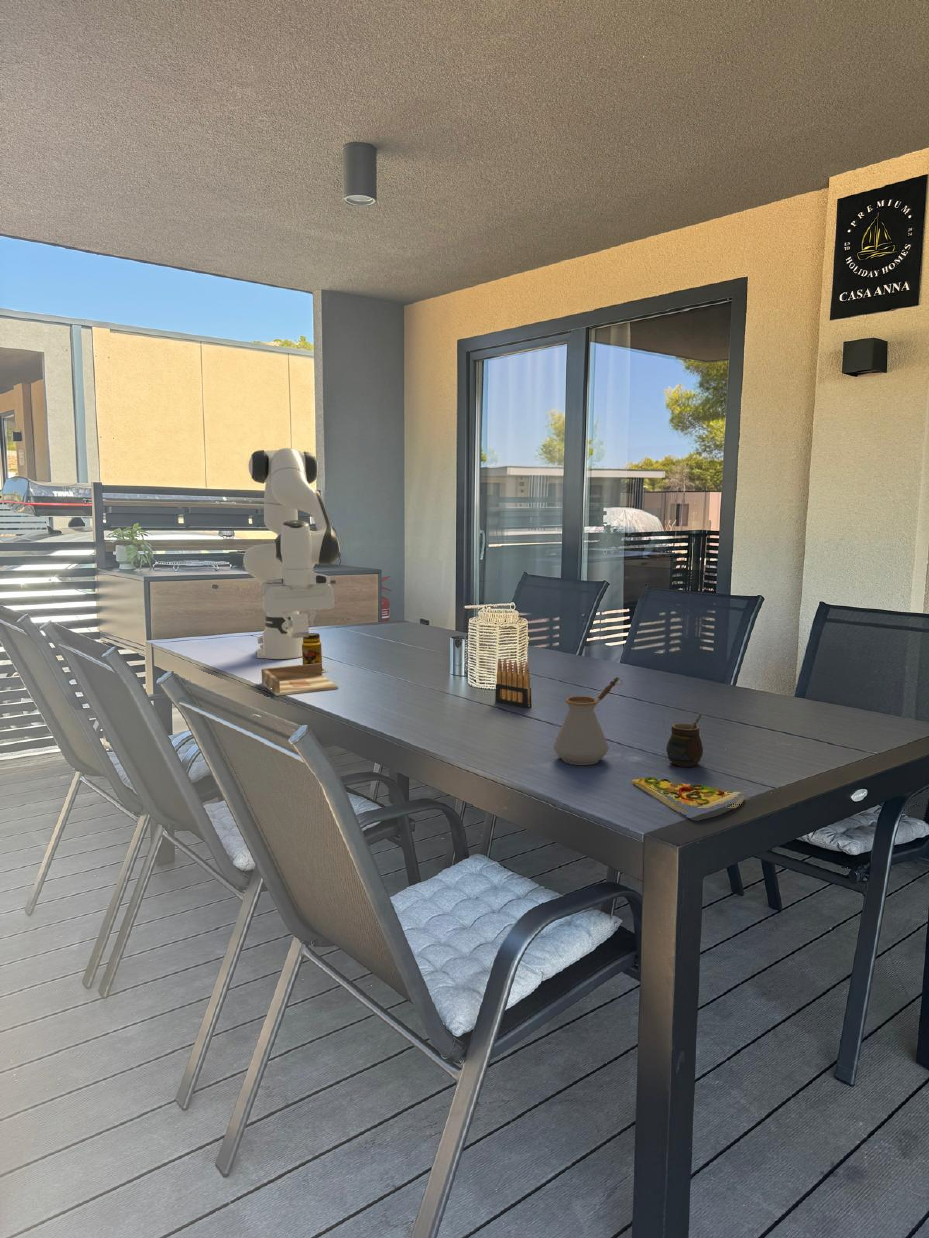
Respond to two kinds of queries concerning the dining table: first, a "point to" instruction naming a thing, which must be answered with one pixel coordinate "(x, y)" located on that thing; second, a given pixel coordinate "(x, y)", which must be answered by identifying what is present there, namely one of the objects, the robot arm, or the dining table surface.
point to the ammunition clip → (513, 685)
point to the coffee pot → (582, 731)
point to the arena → (296, 679)
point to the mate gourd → (685, 744)
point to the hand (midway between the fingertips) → (299, 626)
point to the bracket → (299, 626)
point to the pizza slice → (686, 793)
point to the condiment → (312, 650)
